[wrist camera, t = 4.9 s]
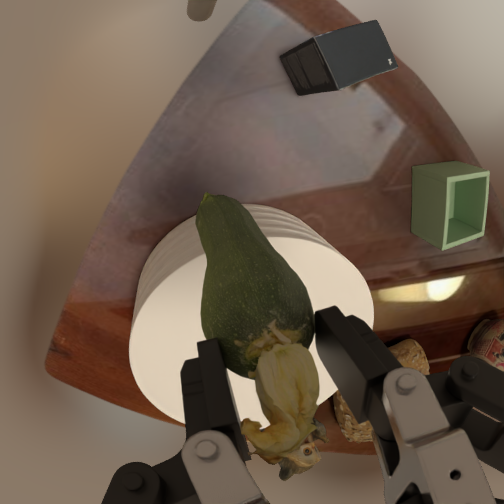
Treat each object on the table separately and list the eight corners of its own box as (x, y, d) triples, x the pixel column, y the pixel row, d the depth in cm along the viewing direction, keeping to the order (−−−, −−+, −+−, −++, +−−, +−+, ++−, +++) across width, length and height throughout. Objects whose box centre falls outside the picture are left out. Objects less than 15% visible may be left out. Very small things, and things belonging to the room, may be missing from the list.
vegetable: (253, 203, 25) (423, 408, 7) (225, 249, 26) (324, 491, 8) (204, 176, 23) (309, 390, 5) (176, 225, 24) (201, 491, 6)
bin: (411, 166, 41) (447, 177, 34) (456, 160, 43) (489, 170, 36) (410, 232, 46) (442, 250, 39) (453, 220, 47) (483, 235, 40)
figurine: (327, 389, 56) (360, 448, 43) (282, 432, 59) (305, 489, 46) (270, 373, 50) (299, 444, 37) (226, 422, 54) (242, 489, 40)
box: (330, 37, 32) (378, 18, 22) (349, 76, 34) (400, 69, 25) (277, 56, 32) (313, 35, 22) (297, 97, 34) (339, 91, 25)
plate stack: (111, 344, 41) (101, 403, 31) (194, 163, 35) (202, 181, 25) (270, 390, 52) (289, 440, 42) (366, 257, 45) (412, 295, 35)
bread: (411, 388, 65) (437, 420, 55) (335, 429, 64) (355, 468, 53) (416, 318, 54) (453, 355, 44) (318, 370, 53) (346, 419, 42)
